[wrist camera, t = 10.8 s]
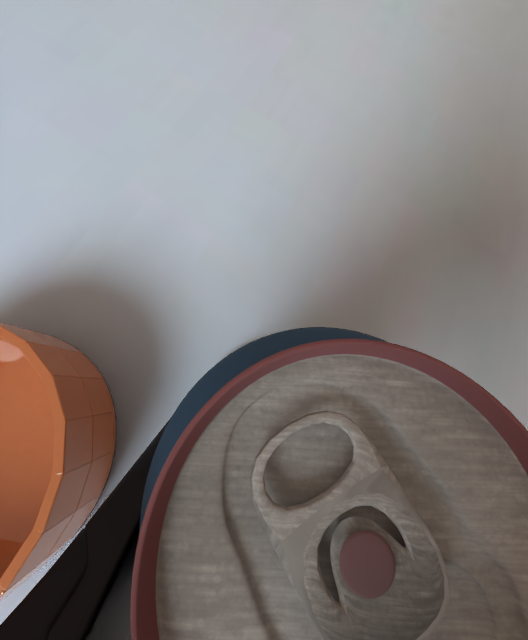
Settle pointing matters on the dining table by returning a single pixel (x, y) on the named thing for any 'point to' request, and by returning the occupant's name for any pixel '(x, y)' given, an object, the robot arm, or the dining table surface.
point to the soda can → (334, 501)
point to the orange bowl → (48, 448)
